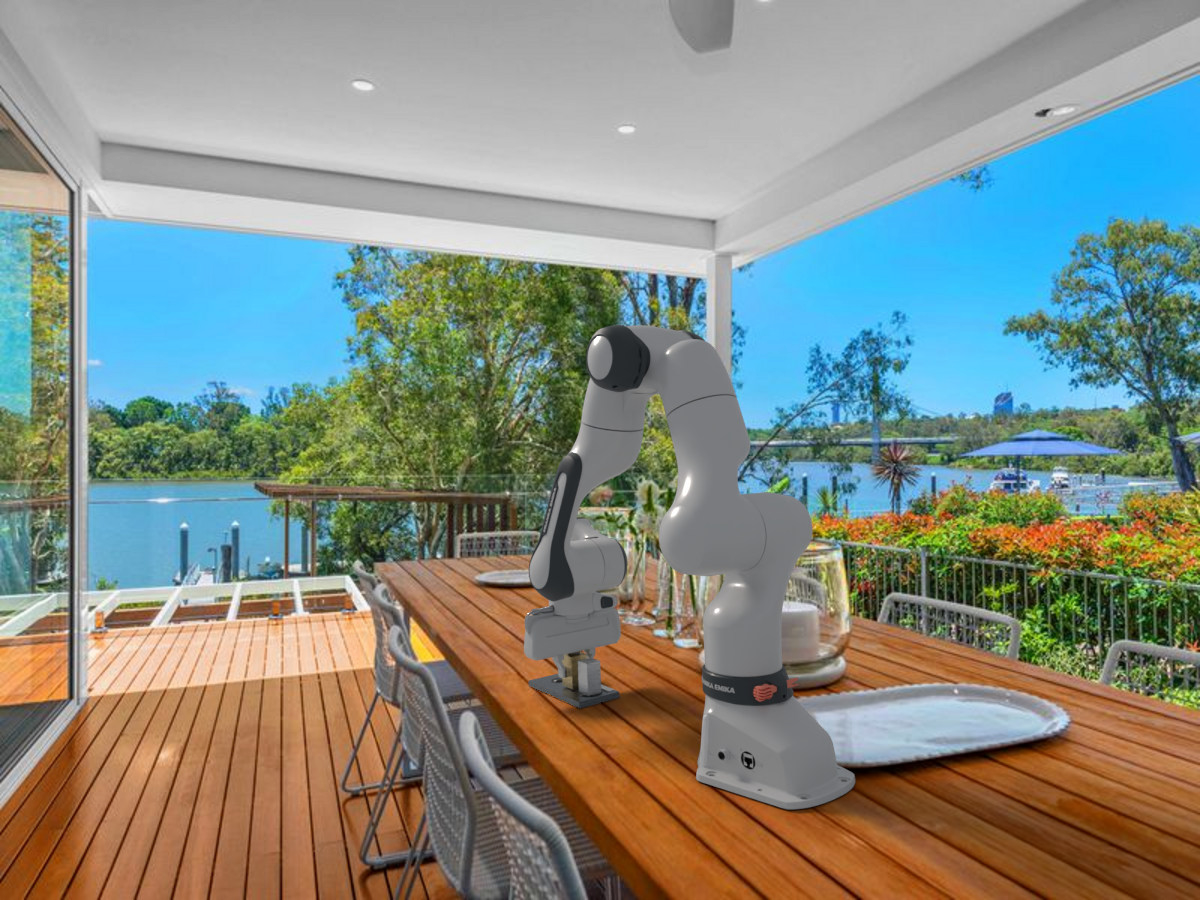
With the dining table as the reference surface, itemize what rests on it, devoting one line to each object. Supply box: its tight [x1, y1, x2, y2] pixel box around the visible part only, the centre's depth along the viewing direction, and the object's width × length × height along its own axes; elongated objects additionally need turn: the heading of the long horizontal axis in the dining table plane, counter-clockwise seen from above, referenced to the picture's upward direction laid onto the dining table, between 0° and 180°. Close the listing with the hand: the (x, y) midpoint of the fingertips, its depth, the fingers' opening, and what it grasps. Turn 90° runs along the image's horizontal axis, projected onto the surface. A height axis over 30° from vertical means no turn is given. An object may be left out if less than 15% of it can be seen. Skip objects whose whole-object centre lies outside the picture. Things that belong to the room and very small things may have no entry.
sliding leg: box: [562, 651, 587, 689], centre depth 151 cm, size 4×4×7 cm
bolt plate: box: [528, 658, 620, 709], centre depth 152 cm, size 18×9×7 cm, turn 35°
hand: (574, 674), depth 151 cm, fingers closed on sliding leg, 3 cm apart
